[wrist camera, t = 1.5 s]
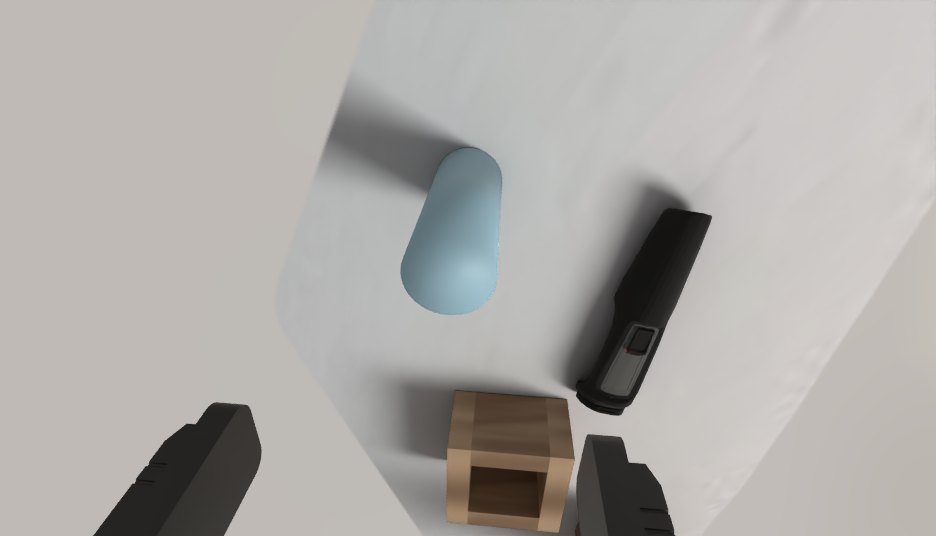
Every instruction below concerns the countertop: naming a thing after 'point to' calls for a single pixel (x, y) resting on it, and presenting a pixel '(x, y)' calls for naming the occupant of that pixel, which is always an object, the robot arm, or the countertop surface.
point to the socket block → (508, 461)
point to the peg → (456, 236)
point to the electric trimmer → (644, 310)
